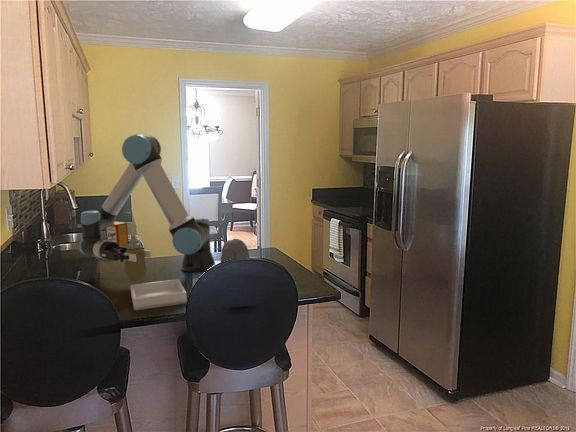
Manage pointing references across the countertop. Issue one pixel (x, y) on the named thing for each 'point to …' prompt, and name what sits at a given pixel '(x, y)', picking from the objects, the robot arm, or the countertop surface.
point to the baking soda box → (118, 233)
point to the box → (158, 294)
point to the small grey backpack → (234, 250)
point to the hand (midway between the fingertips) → (142, 256)
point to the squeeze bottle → (137, 268)
